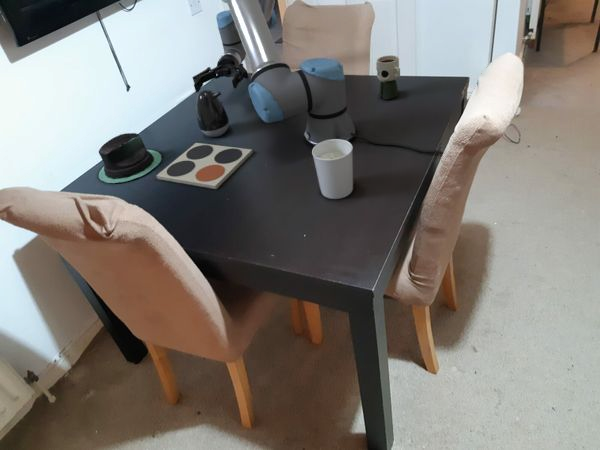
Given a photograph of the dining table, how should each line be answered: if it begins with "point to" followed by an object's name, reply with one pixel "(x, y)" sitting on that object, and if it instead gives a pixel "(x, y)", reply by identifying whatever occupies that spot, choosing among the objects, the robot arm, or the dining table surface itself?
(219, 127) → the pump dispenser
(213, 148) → the hob plate
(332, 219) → the dining table surface
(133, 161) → the black green hat
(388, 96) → the character mug
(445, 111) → the dining table surface
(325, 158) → the candle holder
